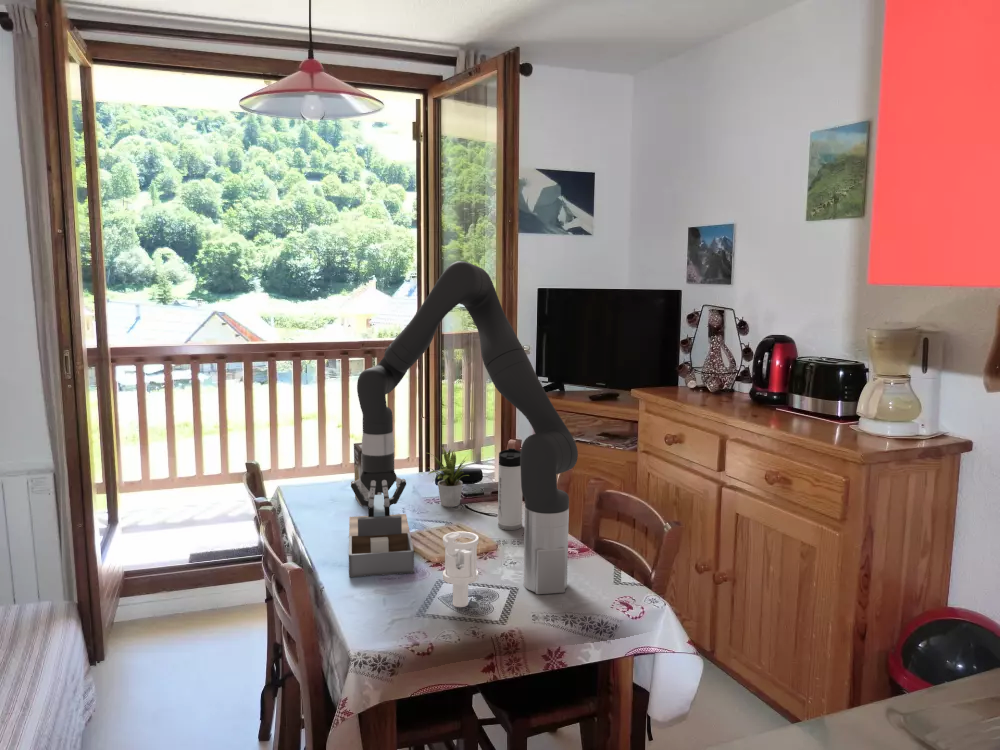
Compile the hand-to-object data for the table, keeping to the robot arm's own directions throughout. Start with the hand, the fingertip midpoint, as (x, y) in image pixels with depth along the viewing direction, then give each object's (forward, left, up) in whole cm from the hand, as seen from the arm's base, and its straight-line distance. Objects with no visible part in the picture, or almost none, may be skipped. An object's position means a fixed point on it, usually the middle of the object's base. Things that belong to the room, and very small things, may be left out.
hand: (379, 520), depth 184 cm
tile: (-6, 0, -4) cm, 7 cm away
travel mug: (+10, -34, -7) cm, 36 cm away
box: (-11, 0, -6) cm, 13 cm away
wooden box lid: (+2, 0, -6) cm, 7 cm away
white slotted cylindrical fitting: (-34, -15, -7) cm, 38 cm away
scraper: (+2, 0, -1) cm, 3 cm away
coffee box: (+38, +2, -7) cm, 38 cm away
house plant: (+32, -20, -7) cm, 38 cm away
